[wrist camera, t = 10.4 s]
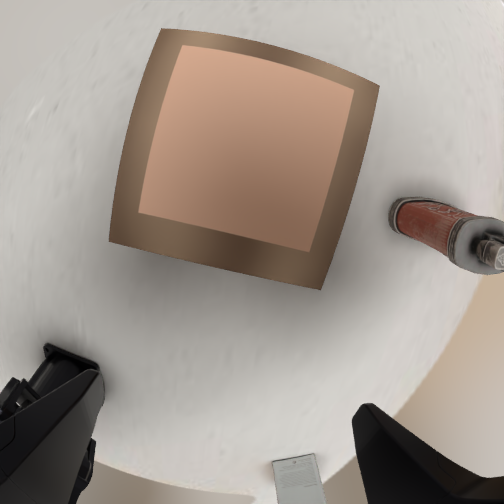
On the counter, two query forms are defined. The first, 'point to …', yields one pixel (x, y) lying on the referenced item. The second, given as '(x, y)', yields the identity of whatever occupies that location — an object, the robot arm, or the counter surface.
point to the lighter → (452, 233)
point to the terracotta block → (245, 147)
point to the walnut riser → (217, 242)
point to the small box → (298, 481)
